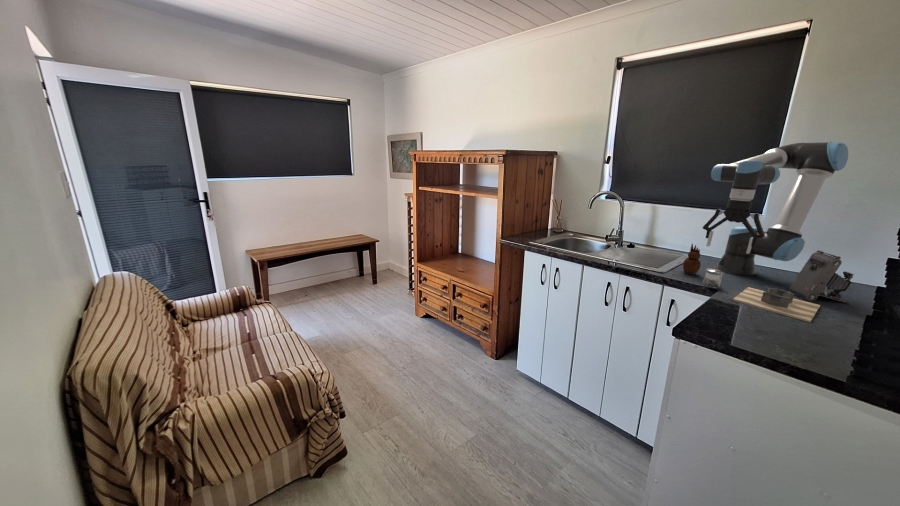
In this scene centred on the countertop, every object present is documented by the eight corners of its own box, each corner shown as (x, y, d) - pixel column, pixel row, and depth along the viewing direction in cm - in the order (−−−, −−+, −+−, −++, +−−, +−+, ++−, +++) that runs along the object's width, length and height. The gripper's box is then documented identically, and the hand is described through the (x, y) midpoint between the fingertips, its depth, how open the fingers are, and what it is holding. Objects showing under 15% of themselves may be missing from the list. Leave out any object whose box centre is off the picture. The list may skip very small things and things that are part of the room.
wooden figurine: (679, 271, 167) (685, 242, 163) (686, 270, 170) (693, 241, 165) (693, 276, 162) (700, 246, 157) (700, 274, 164) (707, 245, 160)
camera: (846, 313, 134) (880, 269, 127) (802, 299, 135) (833, 254, 129) (822, 302, 144) (853, 260, 138) (782, 289, 146) (810, 247, 139)
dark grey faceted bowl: (766, 295, 138) (769, 286, 137) (792, 302, 132) (795, 292, 131) (759, 301, 132) (762, 292, 131) (786, 308, 126) (790, 299, 125)
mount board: (747, 288, 147) (748, 287, 147) (819, 307, 130) (820, 305, 130) (732, 300, 134) (733, 298, 134) (810, 322, 117) (810, 320, 117)
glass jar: (705, 281, 154) (708, 267, 152) (721, 286, 150) (725, 271, 148) (700, 284, 151) (703, 270, 149) (717, 289, 146) (721, 274, 144)
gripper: (701, 196, 142) (690, 244, 149) (780, 204, 124) (764, 258, 130) (706, 195, 147) (695, 241, 153) (784, 202, 128) (768, 254, 135)
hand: (727, 249), depth 142 cm, fingers open, 13 cm apart
